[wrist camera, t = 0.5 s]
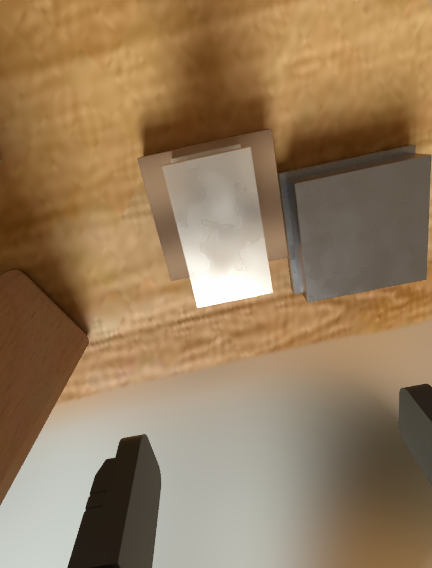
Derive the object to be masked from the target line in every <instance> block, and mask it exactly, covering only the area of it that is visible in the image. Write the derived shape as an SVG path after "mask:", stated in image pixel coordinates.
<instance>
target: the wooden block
mask: <svg viewBox="0 0 432 568" xmlns="http://www.w3.org/2000/svg"><path fill="white" fill-rule="evenodd" d="M88 343H89V339H88V337H87V335H86V334H85V333H84V332H83V331H82V330H81V329H80V328H79V327H78V326H77V325H76V324H75V323H74V322H73V321H72V320H71V319H70V318H69V317H68V316H67V315H66V314H65V313H64V312H63V311H62V310H61V309H60V308H59V307H58V306H57V305H56V304H55V303H54V302H53V301H52V300H51V299H50V298H49V297H48V296H47V295H46V294H45V293H44V292H43V291H42V290H41V289H40V288H39V287H38V286H37V285H36V284H35V283H34V282H33V281H32V280H31V279H30V278H29V277H28V276H27V275H26V274H25V273H23V272H21V271H20V270H18V269H16V270H11V271H6V272H5V273H3V274H2V275H0V505H1V503H2V501H3V499H4V498H5V496H6V494H7V492H8V490H9V488H10V487H11V485H12V483H13V481H14V479H15V477H16V476H17V474H18V472H19V470H20V468H21V466H22V465H23V463H24V461H25V459H26V457H27V455H28V453H29V452H30V450H31V448H32V446H33V444H34V442H35V440H36V439H37V437H38V435H39V433H40V431H41V429H42V428H43V426H44V424H45V422H46V420H47V418H48V417H49V415H50V413H51V411H52V409H53V407H54V406H55V404H56V402H57V400H58V398H59V397H60V395H61V393H62V391H63V389H64V387H65V386H66V384H67V382H68V380H69V378H70V376H71V375H72V373H73V371H74V369H75V367H76V365H77V364H78V362H79V360H80V358H81V356H82V354H83V353H84V351H85V349H86V347H87V345H88Z"/></svg>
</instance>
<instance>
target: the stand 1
mask: <svg viewBox="0 0 432 568" xmlns="http://www.w3.org/2000/svg"><path fill="white" fill-rule="evenodd" d="M235 144H240V146H241V148H242V147H247V146H249V147H251V153H252V160H253V166H254V173H255V179H256V186H257V192H258V199H259V205H260V212H261V219H262V225H263V232H264V238H265V245H266V251H267V258H268V261H273V260H278V259H283V258H288V254H287V246H286V238H285V230H284V223H283V215H282V207H281V199H280V191H279V184H278V176H277V168H276V160H275V152H274V145H273V137H272V129H264V130H260V131H255V132H251V133H246V134H242V135H237V136H233V137H228V138H223V139H219V140H214V141H210V142H205V143H201V144H196V145H192V146H187V147H183V148H178V149H173V150H169V151H164V152H160V153H155V154H151V155H146V156H142V157H140V158H137V159H138V163H139V166H140V170H141V174H142V177H143V181H144V184H145V188H146V192H147V195H148V199H149V203H150V206H151V210H152V213H153V217H154V221H155V224H156V228H157V232H158V235H159V239H160V242H161V246H162V250H163V253H164V257H165V261H166V264H167V268H168V271H169V275H170V279H171V281H174V280H179V279H184V278H189V277H190V276H189V272H188V268H187V264H186V260H185V256H184V252H183V248H182V244H181V240H180V236H179V232H178V228H177V224H176V220H175V216H174V212H173V208H172V204H171V200H170V196H169V192H168V189H167V185H166V181H165V177H164V173H163V169H162V166H163V165H165V164H169V163H171V159H172V158H176V157H180V156H185V155H189V154H194V153H198V152H203V151H208V150H212V149H217V148H221V147H226V146H230V145H235Z"/></svg>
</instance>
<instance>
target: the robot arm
mask: <svg viewBox="0 0 432 568" xmlns="http://www.w3.org/2000/svg"><path fill="white" fill-rule="evenodd" d="M399 428H400V432H401V435H402V438H403V440H404V442H405V444H406V446H407V448H408V449H409V451H410V452H411V454H412V455H413V457H414V458H415V460H416V462H417V463H418V465H419V467H420V468H421V470H422V471H423V473H424V474H425V476H426V477H427V479H428V481H429V482H430V484H431V485H432V387H431V386H430V385H428V384H422V385H417V386H411V387H405V388H401V389H400V393H399ZM160 490H161V474H160V469H159V465H158V462H157V460H156V457H155V455H154V452H153V450H152V447H151V445H150V442H149V440H148V437H147V436H146V435H145V434H143V435H138V436H132V437H127V438H122V439H121V440H120V442H119V446H118V450H117V454H116V458H111V459H106V461H105V462H104V463H103V465H102V467H101V468H100V469H99V471H98V472H97V474H96V475H95V478H94V481H93V485H92V488H91V491H90V497H89V498H88V501H87V505H86V511H85V512H84V515H83V518H82V521H81V524H80V528H79V531H78V534H77V538H76V541H75V545H74V548H73V551H72V555H71V558H70V561H69V565H68V568H152V562H153V554H154V545H155V536H156V527H157V518H158V509H159V499H160Z"/></svg>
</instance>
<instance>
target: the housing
mask: <svg viewBox="0 0 432 568" xmlns="http://www.w3.org/2000/svg"><path fill="white" fill-rule="evenodd" d="M162 169H163V173H164V177H165V181H166V185H167V189H168V192H169V196H170V200H171V204H172V208H173V212H174V216H175V220H176V224H177V228H178V232H179V236H180V240H181V244H182V248H183V252H184V256H185V260H186V264H187V268H188V272H189V276H190V280H191V284H192V288H193V292H194V296H195V300H196V304H197V308H199V307H204V306H209V305H214V304H219V303H224V302H229V301H234V300H239V299H244V298H249V297H255V296H260V295H265V294H270V293H273V290H272V284H271V277H270V271H269V264H268V258H267V251H266V245H265V238H264V232H263V225H262V219H261V212H260V205H259V199H258V192H257V186H256V179H255V173H254V166H253V160H252V153H251V147H249V146H247V147H242V148H241V146H240V144H235V145H230V146H226V147H221V148H217V149H212V150H208V151H203V152H198V153H194V154H189V155H185V156H180V157H176V158H172V159H171V163H169V164H165V165H163V166H162Z"/></svg>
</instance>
